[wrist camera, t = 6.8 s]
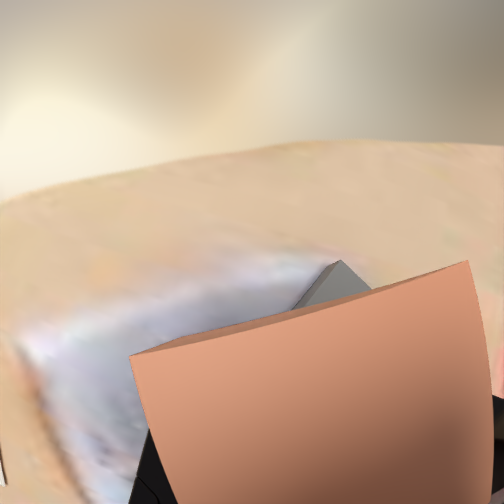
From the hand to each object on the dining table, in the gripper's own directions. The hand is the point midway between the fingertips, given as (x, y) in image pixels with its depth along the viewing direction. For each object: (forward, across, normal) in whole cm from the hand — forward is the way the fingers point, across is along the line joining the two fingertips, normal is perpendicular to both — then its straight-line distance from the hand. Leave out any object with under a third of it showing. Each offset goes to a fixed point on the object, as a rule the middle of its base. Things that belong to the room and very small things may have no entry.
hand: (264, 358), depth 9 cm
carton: (+4, 0, +6) cm, 7 cm away
